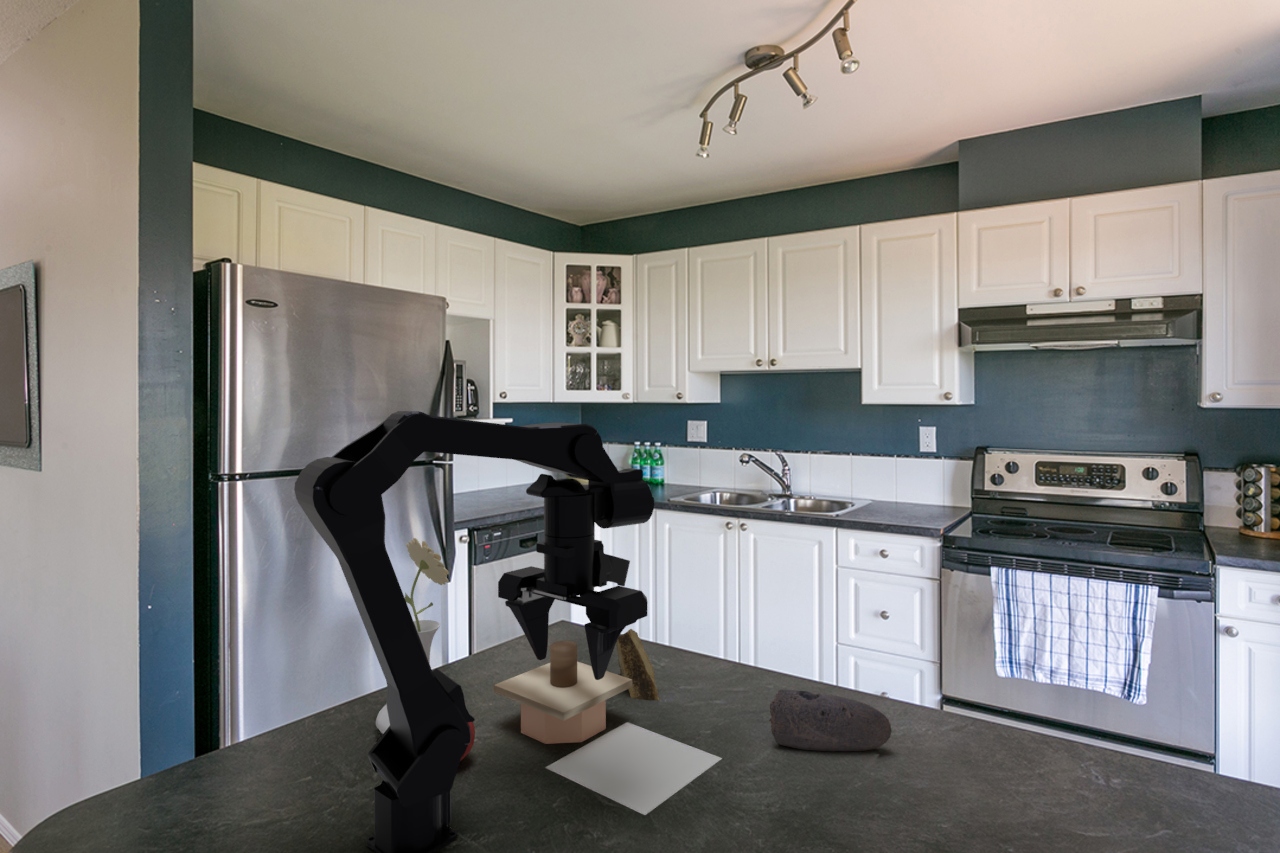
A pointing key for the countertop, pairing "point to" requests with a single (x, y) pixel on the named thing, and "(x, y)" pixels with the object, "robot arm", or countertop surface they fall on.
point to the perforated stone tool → (826, 722)
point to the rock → (636, 666)
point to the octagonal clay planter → (563, 725)
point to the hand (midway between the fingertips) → (569, 668)
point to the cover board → (562, 696)
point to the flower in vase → (425, 628)
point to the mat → (634, 766)
